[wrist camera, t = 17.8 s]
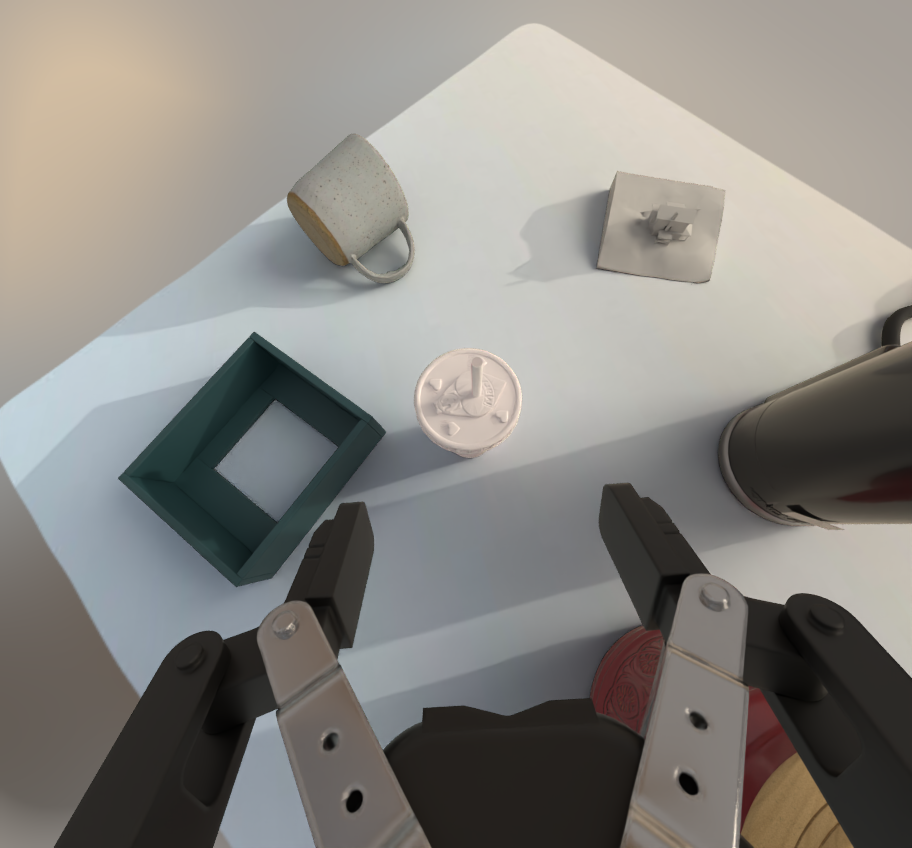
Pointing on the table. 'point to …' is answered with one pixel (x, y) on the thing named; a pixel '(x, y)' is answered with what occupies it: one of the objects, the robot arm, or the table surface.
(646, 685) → the kitchen canister
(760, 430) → the robot arm
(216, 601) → the table surface
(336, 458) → the bin
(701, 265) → the miniature house
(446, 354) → the smoothie
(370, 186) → the ceramic mug
